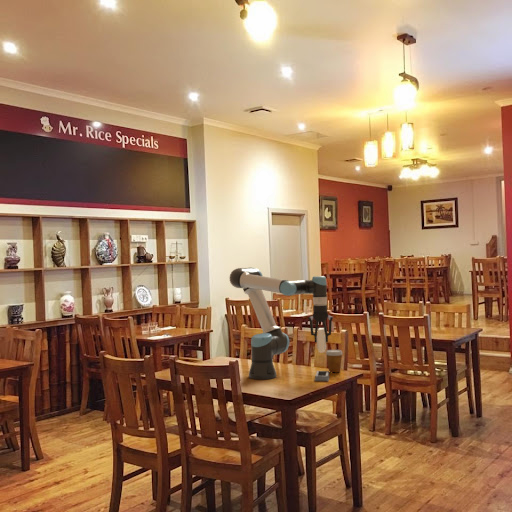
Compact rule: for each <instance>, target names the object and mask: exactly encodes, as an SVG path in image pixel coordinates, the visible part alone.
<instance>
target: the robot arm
mask: <svg viewBox="0 0 512 512" xmlns="http://www.w3.org/2000/svg"><path fill="white" fill-rule="evenodd" d="M229 282H230V285H232V286H233V288H235V289H243V293H244V294H246V295H248V298H249V300H250V302H251V303H250V304H251V306H252V307H253V310H254V313H255V315H256V317H257V321H258V323H259V325H260V327H261V329H262V332H261V333H256V334H254V335H252V336H251V339H250V341H251V342H250V348H251V349H250V350H251V365H250V368H249V371H248V378H249V379H253V380H270V379H275V378H277V371H276V369H275V366H274V361H273V359H274V358H273V356H276V355H281V354H283V353H285V352H287V350H288V349H289V346H290V338H289V336H288V334H286V333H285V332H283V331H282V329H281V327H279V326H278V325H277V324H276V321H275V318H274V316H273V314H272V311H271V308H270V307H269V303H268V302H267V299H266V297H265V294H264V292H263V291H267V292H271V293H272V292H273V293H279V294H282V295H284V296H287V297H288V296H290V297H291V296H296V295H306V294H307V295H310V294H311V295H312V304H313V306H312V307H313V308H312V311H313V314H312V315H311V316H309V317H308V318H307V319H308V321H309V327H310V335H311V336H313V337H314V343H316V349H317V350H319V349H318V329H319V324H320V323H322V325H323V328H324V331H325V336H324V348H325V350H326V349H327V343H329V336H331V335H332V323H333V322H332V321H333V319H334V316H331V315H329V314H328V305H327V304H328V297H327V294H328V293H327V287H328V286H327V285H328V283H327V278H326V276H324V275H321V276H318V275H316V276H315V275H314V276H312V279H311V280H310V279H307V280H306V279H297V280H288V279H287V280H286V279H281V278H276V277H275V278H274V277H268V276H263V273H262V272H261V271H260V270H259V269H258V268H256V267H238V268H235V269H233V270H232V271H231V273H230V274H229ZM327 319H328V320H329V321H328V328H327V324H326V320H327ZM314 320H315V329H314V324H313V321H314Z"/></svg>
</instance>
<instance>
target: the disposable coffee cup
mask: <svg viewBox="0 0 512 512" xmlns="http://www.w3.org/2000/svg"><path fill="white" fill-rule="evenodd" d="M325 354H326V360H327V367H328V371H330V372H339V373H341V367H342V357H343V351H342V350H341V349H328V350H325ZM330 372H329V373H330Z"/></svg>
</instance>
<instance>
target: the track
mask: <svg viewBox="0 0 512 512" xmlns="http://www.w3.org/2000/svg"><path fill="white" fill-rule="evenodd" d="M329 375H330V372H329V370H316V372H315V376H314V382H329V380H330V376H329Z"/></svg>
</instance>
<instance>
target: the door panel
mask: <svg viewBox="0 0 512 512" xmlns="http://www.w3.org/2000/svg"><path fill="white" fill-rule="evenodd" d="M317 336H318V349H317V350H318V353H319V354H320V353H326V349H325V348H324V336H325V331H324V327H318V331H317Z"/></svg>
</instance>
